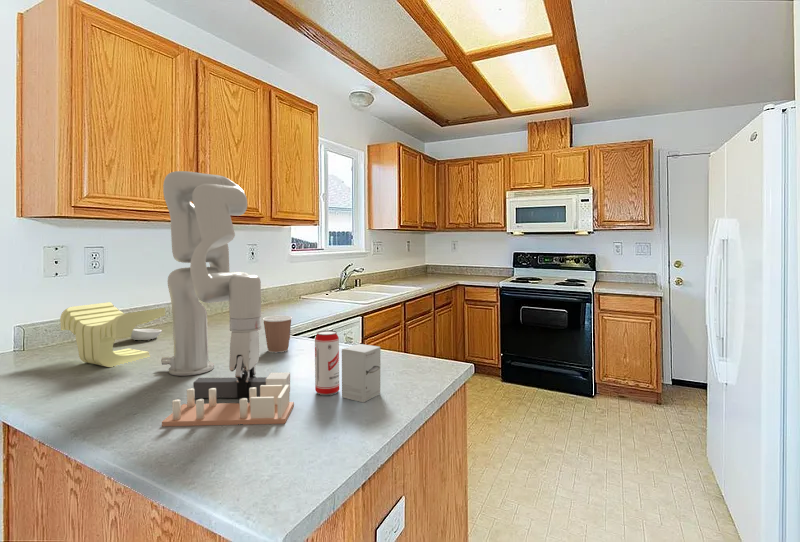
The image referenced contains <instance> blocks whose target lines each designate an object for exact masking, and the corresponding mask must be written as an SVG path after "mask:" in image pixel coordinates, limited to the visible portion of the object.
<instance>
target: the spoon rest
mask: <svg viewBox="0 0 800 542" xmlns="http://www.w3.org/2000/svg"><path fill="white" fill-rule="evenodd" d="M161 333H162V329H156V328H136V329H135V328H134V329H133V331H132V334H131V337H130V339H132V340H134V341H135V340H148V341H151V340H150V339H152V340H154V339H155V338H157V337H159V336H160V335H161Z"/></svg>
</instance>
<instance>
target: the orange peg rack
mask: <svg viewBox="0 0 800 542" xmlns="http://www.w3.org/2000/svg"><path fill="white" fill-rule="evenodd" d="M195 399H196V398H195V394H194V387H191V388H187V389H186V403H183V404H181V399H179V398H178V399H174V400H172V401H171V403H172V405H171V407H172V409H171V411H172V412H171V413H170V414H169V415H168V416H167V417H166V418H165V419H163V420H162V421H161V427H184V426H185V427H186V426H188V427H191V426H193V427H195V426H198V427H199V426H229V425H230V426H231V425H232V426H234V425H238V424H239V425H240V424H243V425H280V424H284V425H285V424H286V423H287V420H288V419H289V416H290V415H291V413H292V410H293V409H294V406H295V402H294V401H290V392H289V385H285V387H284V388H283V390H282V385H261V386H260V397H257V393H256V387H252V388H249V398H239V402H229V403H228V402H227V403H225V402H222V403H220V402H219V403H217V398H216V388H210V389H209V398H208V403H205V398H197V399H196V400H195ZM248 399H249V402H248ZM239 425H238V426H239ZM240 426H241V425H240Z"/></svg>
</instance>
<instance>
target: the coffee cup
mask: <svg viewBox="0 0 800 542" xmlns="http://www.w3.org/2000/svg"><path fill="white" fill-rule="evenodd" d="M292 319H293V317H292V316H290V315H270V316H269V315H268V316H264V317H263V318H262V320H263V326H264V333H265V340H266V341H265V342H266V347H267V352H268V353H271V352H275V353H274V354H278V353H277V352H281V353H285V352H288V349H289V345H290V339H291V327H292V325H291V324H292ZM284 351H285V352H284Z"/></svg>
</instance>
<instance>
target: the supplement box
mask: <svg viewBox="0 0 800 542" xmlns="http://www.w3.org/2000/svg"><path fill="white" fill-rule="evenodd" d="M381 349H382V348H381V346H377V345H370V344H364V343H357V344H354V345H351V346H348V347H344V348H342V349H341V397H342V398H344V399H348V400H350V401H351V400H352V401H356V402H361V403H363V404H364V403H366V402H367V401H369V400H370V399H372V398H375V397H377V396H379V395H380V394H381Z"/></svg>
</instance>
